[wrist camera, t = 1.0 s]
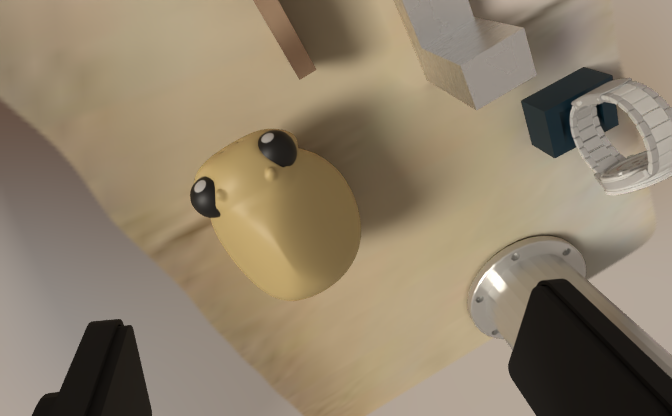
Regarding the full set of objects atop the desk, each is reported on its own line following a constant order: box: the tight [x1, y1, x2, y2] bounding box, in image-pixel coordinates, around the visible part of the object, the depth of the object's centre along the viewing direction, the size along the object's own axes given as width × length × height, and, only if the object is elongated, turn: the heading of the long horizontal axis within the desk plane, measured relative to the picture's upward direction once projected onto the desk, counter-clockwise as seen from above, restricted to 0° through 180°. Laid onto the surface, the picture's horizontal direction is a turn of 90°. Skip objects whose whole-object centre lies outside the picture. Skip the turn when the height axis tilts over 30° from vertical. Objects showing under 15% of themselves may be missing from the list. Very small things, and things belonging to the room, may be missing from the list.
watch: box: [521, 67, 672, 195], centre depth 32 cm, size 6×8×11 cm
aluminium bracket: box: [394, 0, 537, 110], centre depth 28 cm, size 8×4×8 cm, turn 28°
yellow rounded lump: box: [190, 129, 361, 301], centre depth 30 cm, size 10×12×11 cm
